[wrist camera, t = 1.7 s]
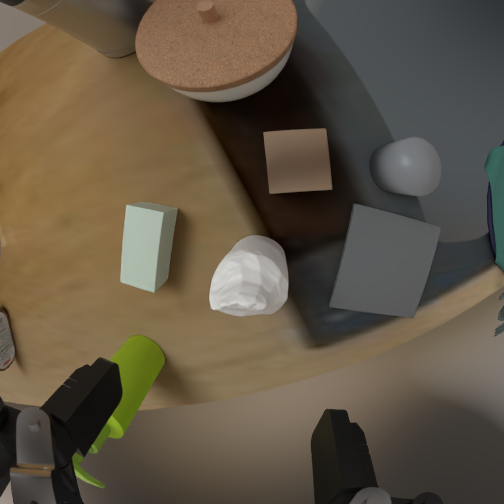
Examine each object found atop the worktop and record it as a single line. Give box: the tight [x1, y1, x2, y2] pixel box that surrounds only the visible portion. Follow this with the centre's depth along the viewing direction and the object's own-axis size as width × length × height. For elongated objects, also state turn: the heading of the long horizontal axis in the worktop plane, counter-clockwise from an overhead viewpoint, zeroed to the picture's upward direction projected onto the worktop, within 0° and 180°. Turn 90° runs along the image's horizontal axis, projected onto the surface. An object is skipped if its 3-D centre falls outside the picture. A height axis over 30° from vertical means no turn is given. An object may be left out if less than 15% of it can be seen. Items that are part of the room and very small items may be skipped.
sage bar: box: [121, 201, 178, 292], centre depth 26 cm, size 8×4×4 cm, turn 168°
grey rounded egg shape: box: [370, 137, 442, 196], centre depth 21 cm, size 5×5×6 cm
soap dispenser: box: [72, 335, 165, 488], centre depth 23 cm, size 6×7×20 cm
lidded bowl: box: [135, 0, 298, 102], centre depth 17 cm, size 13×13×11 cm
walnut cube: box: [263, 129, 332, 194], centre depth 23 cm, size 5×5×5 cm
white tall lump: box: [209, 235, 289, 317], centre depth 22 cm, size 6×12×6 cm
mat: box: [329, 203, 441, 318], centre depth 26 cm, size 11×11×1 cm
